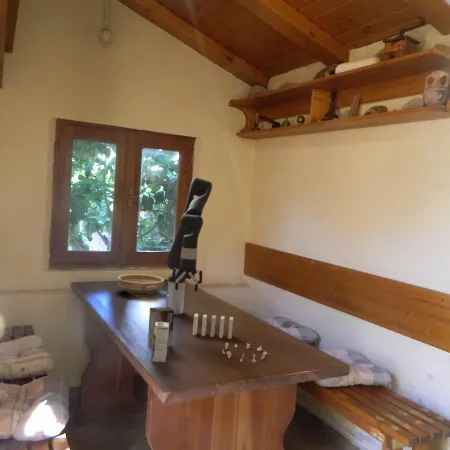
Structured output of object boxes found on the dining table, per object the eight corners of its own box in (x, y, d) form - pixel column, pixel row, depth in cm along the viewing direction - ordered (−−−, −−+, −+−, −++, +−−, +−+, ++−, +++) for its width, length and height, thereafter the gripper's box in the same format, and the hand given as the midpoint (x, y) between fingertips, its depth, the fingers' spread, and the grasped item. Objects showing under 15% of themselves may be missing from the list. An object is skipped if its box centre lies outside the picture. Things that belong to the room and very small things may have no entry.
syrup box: (152, 356, 194) (154, 321, 193) (166, 357, 195) (169, 322, 194) (151, 361, 189) (153, 325, 188) (166, 362, 189) (169, 326, 188)
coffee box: (166, 342, 214) (169, 306, 212) (172, 346, 208) (174, 310, 207) (147, 343, 209) (149, 307, 208) (151, 348, 204) (154, 311, 203)
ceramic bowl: (174, 299, 292) (175, 283, 291) (130, 302, 276) (131, 285, 276) (148, 286, 323) (149, 271, 322) (107, 288, 307) (108, 273, 306)
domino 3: (210, 336, 226) (211, 317, 226) (211, 333, 231) (212, 315, 231) (213, 337, 226) (215, 318, 226) (214, 333, 231) (215, 315, 231)
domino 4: (219, 337, 226) (220, 318, 225) (219, 334, 231) (221, 316, 230) (222, 337, 226) (224, 319, 225) (223, 334, 231) (224, 316, 230)
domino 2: (201, 335, 227) (202, 317, 226) (202, 332, 231) (203, 314, 231) (204, 336, 226) (206, 317, 226) (205, 333, 231) (207, 314, 231)
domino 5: (227, 338, 226) (229, 319, 225) (228, 335, 231) (229, 316, 230) (231, 338, 226) (233, 320, 225) (231, 335, 231) (233, 317, 230)
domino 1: (192, 335, 227) (193, 316, 226) (193, 331, 232) (195, 313, 231) (195, 335, 227) (197, 316, 226) (197, 332, 232) (198, 313, 231)
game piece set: (233, 365, 193) (234, 356, 193) (214, 348, 212) (215, 339, 211) (275, 362, 201) (276, 353, 201) (254, 346, 219) (255, 337, 219)
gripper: (204, 257, 230) (201, 290, 231) (174, 254, 230) (172, 288, 232) (203, 259, 223) (200, 294, 224) (172, 257, 223) (170, 291, 224)
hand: (186, 291), depth 228 cm, fingers open, 8 cm apart
